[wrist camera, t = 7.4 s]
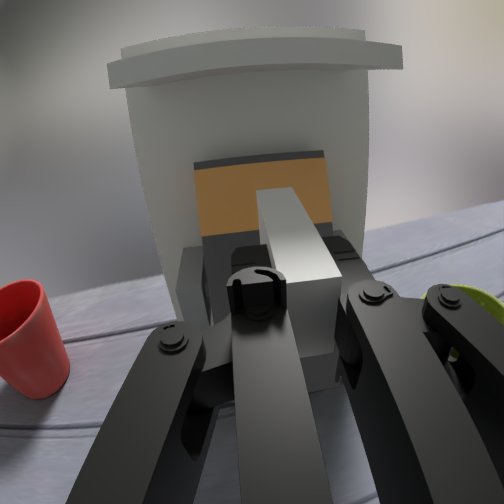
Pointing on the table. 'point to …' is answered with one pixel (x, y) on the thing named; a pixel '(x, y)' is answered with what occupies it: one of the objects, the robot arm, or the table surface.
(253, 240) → the breaker switch
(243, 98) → the box
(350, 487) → the table surface
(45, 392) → the flower pot
